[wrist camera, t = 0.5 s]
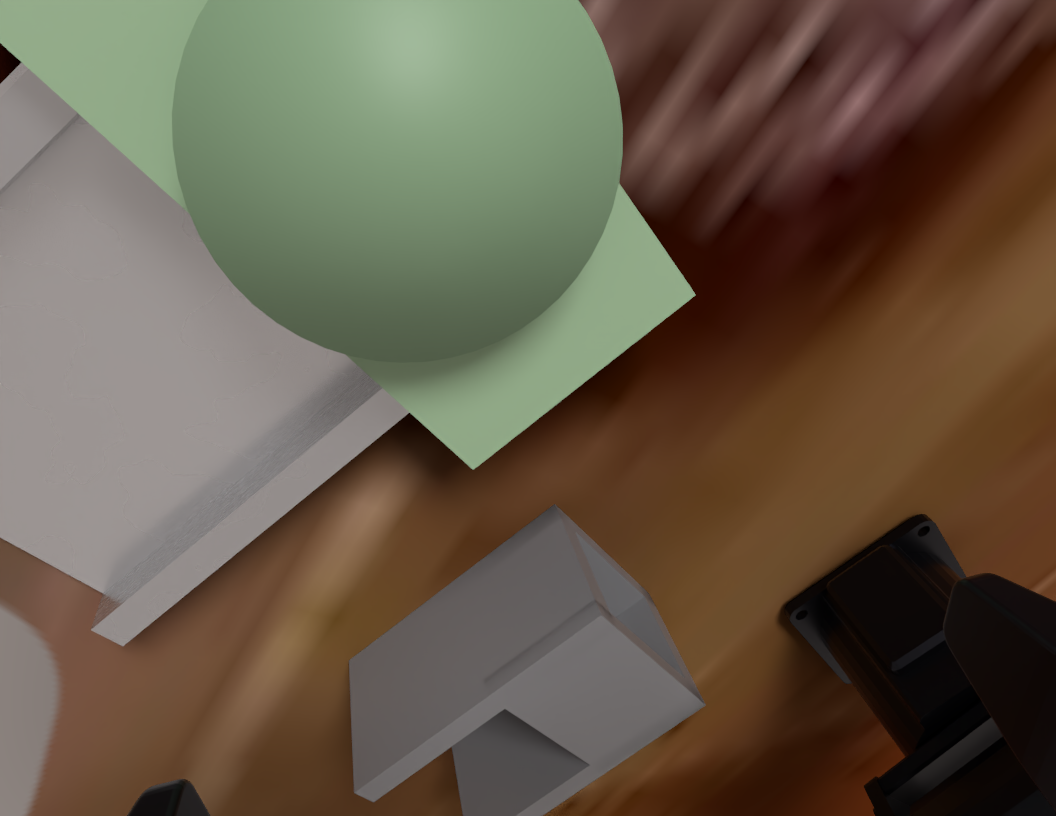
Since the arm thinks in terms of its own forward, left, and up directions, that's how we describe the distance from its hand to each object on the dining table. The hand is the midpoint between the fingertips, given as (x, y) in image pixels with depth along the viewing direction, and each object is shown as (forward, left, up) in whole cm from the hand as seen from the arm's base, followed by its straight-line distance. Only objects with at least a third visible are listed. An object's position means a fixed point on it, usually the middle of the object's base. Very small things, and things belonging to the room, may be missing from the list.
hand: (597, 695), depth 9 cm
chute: (-11, +7, -13) cm, 19 cm away
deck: (+4, +4, -13) cm, 14 cm away
